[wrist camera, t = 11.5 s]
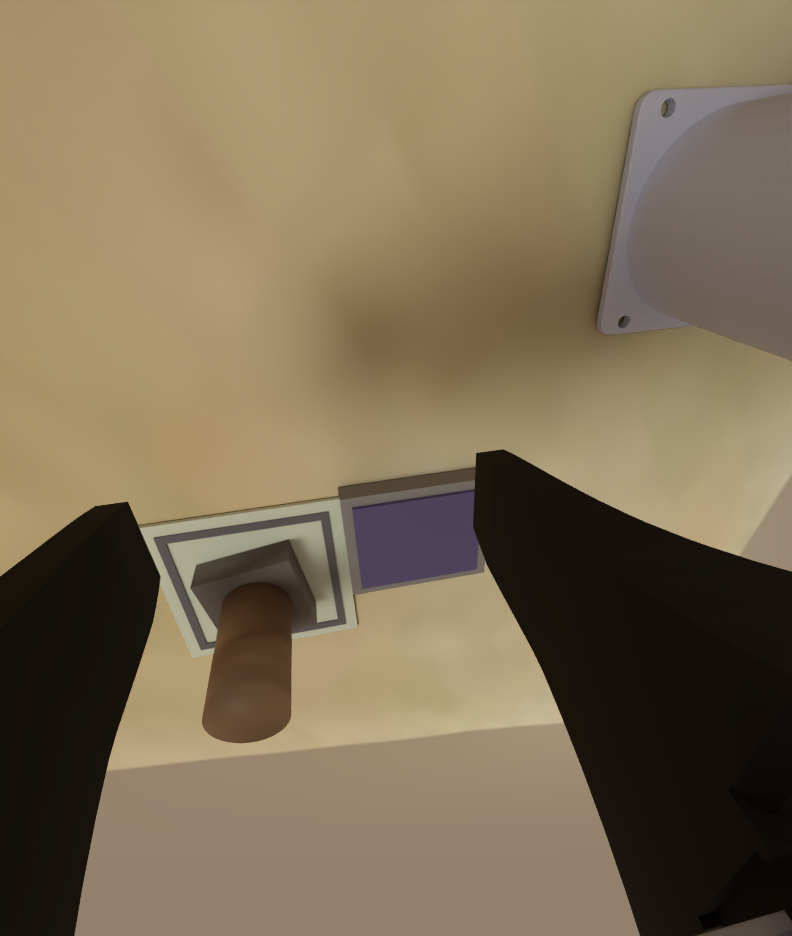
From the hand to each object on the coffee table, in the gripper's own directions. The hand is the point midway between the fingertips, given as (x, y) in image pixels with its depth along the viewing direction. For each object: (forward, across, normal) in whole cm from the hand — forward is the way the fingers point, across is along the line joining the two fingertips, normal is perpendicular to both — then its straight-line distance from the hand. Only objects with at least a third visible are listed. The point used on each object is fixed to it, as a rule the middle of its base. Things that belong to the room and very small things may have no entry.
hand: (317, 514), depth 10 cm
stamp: (+10, +4, +11) cm, 15 cm away
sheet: (+10, +4, +11) cm, 15 cm away
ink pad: (+10, -4, +9) cm, 14 cm away
